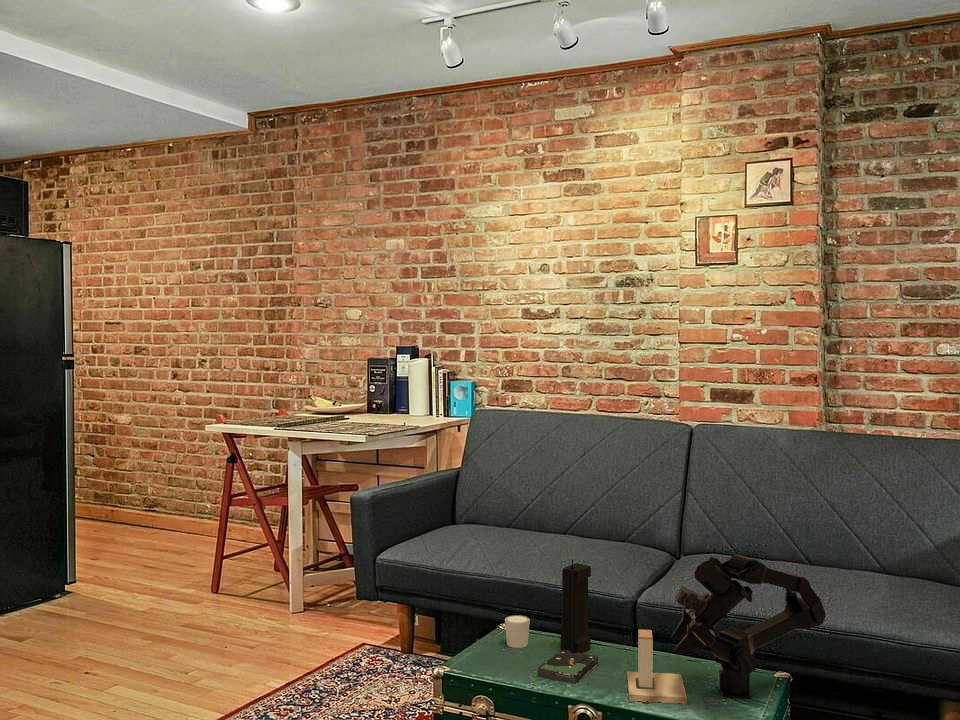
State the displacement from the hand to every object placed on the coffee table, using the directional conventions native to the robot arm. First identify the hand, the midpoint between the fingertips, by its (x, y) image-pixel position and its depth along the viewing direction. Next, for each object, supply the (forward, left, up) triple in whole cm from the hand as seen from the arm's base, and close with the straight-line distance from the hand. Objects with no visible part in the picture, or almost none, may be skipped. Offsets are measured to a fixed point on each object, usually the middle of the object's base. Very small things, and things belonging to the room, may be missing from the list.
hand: (673, 646), depth 210 cm
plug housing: (+7, 0, -9) cm, 11 cm away
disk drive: (+25, -10, -11) cm, 29 cm away
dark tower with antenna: (+24, -25, -11) cm, 36 cm away
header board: (+4, 0, -11) cm, 12 cm away
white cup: (+40, -27, -11) cm, 49 cm away
